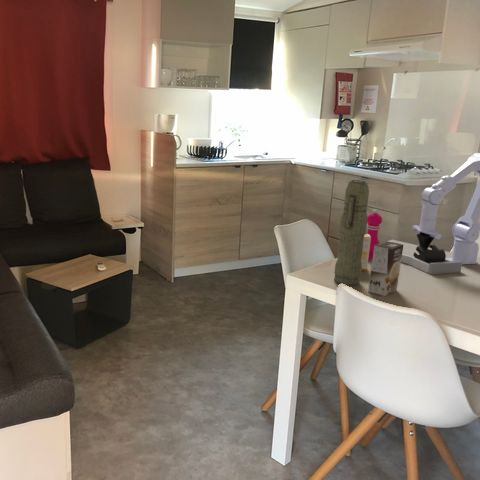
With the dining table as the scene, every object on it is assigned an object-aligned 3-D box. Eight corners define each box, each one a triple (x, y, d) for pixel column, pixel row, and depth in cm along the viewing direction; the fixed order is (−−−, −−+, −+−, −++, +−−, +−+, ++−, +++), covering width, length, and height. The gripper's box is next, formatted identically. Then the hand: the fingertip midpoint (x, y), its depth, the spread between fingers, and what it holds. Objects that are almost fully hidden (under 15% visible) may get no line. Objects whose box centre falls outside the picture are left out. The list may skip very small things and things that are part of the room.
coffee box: (385, 296, 174) (392, 249, 170) (367, 291, 178) (373, 244, 174) (397, 290, 181) (404, 244, 177) (379, 285, 185) (385, 240, 181)
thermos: (362, 279, 190) (375, 180, 182) (355, 288, 180) (368, 184, 171) (338, 274, 194) (349, 177, 185) (329, 284, 183) (341, 181, 174)
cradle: (432, 258, 222) (434, 249, 221) (463, 271, 207) (465, 261, 206) (397, 261, 216) (399, 251, 215) (427, 274, 200) (428, 264, 199)
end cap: (421, 269, 208) (427, 255, 204) (410, 258, 214) (416, 244, 210) (441, 268, 212) (448, 254, 208) (430, 257, 217) (437, 243, 214)
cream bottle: (365, 267, 205) (369, 233, 202) (367, 271, 200) (371, 237, 197) (343, 265, 206) (347, 232, 202) (344, 269, 201) (348, 235, 198)
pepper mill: (378, 261, 214) (385, 211, 209) (360, 259, 215) (366, 210, 210) (378, 256, 221) (384, 208, 216) (360, 254, 222) (366, 206, 217)
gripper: (408, 214, 216) (403, 247, 220) (433, 223, 203) (427, 257, 207) (422, 214, 219) (417, 246, 222) (447, 222, 206) (442, 256, 209)
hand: (423, 252), depth 215 cm, fingers closed
